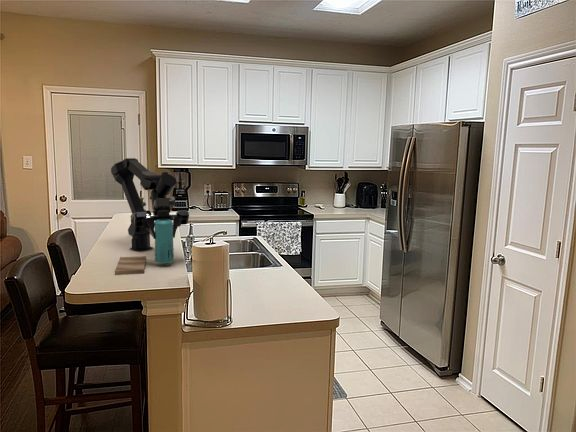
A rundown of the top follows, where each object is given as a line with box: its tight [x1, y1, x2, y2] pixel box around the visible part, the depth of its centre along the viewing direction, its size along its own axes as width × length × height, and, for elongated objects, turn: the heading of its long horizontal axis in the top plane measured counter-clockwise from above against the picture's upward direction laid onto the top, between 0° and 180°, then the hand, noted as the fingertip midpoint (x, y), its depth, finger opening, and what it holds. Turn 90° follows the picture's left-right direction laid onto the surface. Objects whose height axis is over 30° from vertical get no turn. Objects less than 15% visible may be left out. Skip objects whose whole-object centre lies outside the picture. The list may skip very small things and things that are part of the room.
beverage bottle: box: [154, 210, 175, 264], centre depth 150 cm, size 6×7×20 cm
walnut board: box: [114, 255, 147, 276], centre depth 148 cm, size 18×9×1 cm, turn 16°
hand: (164, 237), depth 149 cm, fingers closed on beverage bottle, 6 cm apart
